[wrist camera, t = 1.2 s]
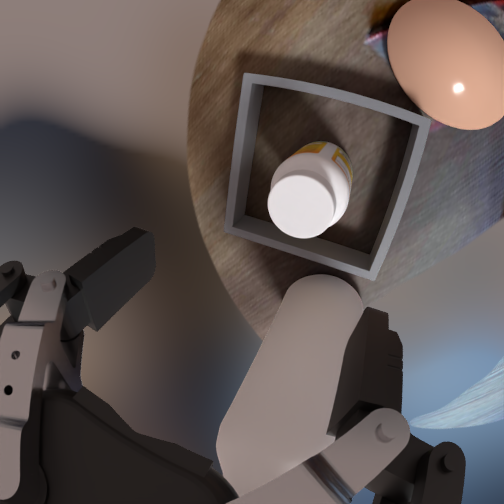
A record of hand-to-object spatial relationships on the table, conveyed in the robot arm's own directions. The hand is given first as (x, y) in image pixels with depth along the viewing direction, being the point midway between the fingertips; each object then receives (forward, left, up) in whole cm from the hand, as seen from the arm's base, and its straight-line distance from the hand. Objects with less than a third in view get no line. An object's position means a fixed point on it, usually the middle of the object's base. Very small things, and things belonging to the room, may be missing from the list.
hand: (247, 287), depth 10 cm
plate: (-9, -13, -18) cm, 24 cm away
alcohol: (-4, +14, -18) cm, 23 cm away
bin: (0, 0, -18) cm, 18 cm away
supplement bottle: (0, 0, -18) cm, 18 cm away
